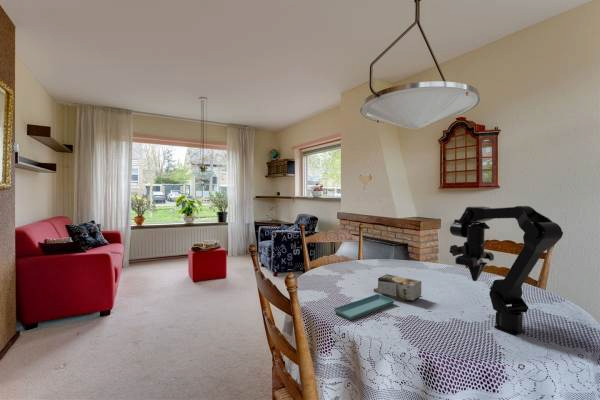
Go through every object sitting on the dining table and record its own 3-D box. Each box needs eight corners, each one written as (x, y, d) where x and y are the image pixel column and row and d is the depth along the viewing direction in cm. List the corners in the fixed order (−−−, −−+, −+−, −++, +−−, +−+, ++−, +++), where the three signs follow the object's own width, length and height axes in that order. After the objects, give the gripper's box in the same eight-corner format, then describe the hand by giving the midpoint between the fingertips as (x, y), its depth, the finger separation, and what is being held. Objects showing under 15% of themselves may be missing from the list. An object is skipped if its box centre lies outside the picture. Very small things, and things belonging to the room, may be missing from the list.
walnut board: (420, 295, 130) (420, 292, 130) (404, 301, 123) (404, 298, 123) (389, 286, 143) (389, 284, 143) (373, 291, 136) (373, 288, 136)
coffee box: (413, 285, 120) (377, 277, 131) (413, 300, 121) (377, 292, 131) (421, 280, 127) (386, 273, 138) (421, 295, 127) (386, 287, 138)
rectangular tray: (350, 322, 105) (350, 315, 104) (332, 314, 112) (332, 307, 112) (395, 305, 120) (395, 299, 120) (377, 299, 127) (377, 293, 127)
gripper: (464, 235, 123) (464, 272, 124) (441, 239, 112) (441, 280, 113) (494, 238, 114) (494, 278, 115) (472, 243, 103) (472, 287, 104)
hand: (474, 280), depth 112 cm, fingers closed
